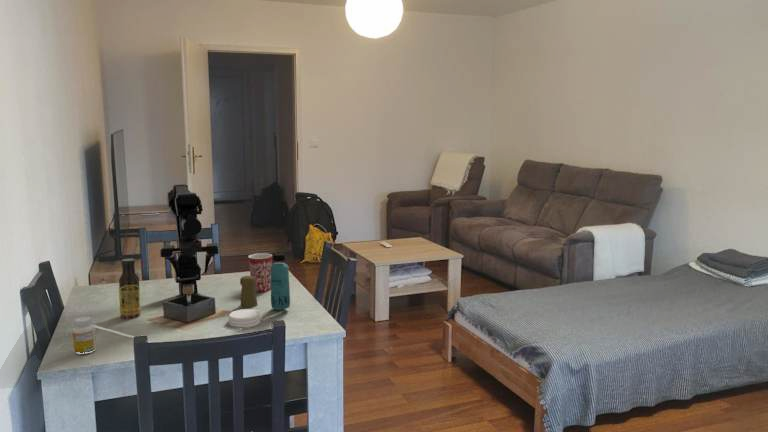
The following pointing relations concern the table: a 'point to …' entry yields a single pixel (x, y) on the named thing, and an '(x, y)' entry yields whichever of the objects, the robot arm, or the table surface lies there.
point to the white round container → (244, 318)
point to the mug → (261, 271)
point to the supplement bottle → (84, 335)
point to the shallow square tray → (189, 308)
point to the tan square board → (184, 326)
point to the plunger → (188, 292)
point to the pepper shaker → (248, 292)
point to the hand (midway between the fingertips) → (191, 274)
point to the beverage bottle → (279, 283)
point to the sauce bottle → (129, 291)
